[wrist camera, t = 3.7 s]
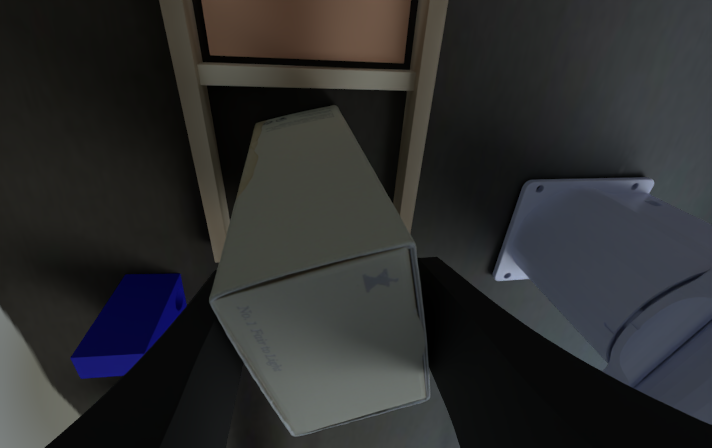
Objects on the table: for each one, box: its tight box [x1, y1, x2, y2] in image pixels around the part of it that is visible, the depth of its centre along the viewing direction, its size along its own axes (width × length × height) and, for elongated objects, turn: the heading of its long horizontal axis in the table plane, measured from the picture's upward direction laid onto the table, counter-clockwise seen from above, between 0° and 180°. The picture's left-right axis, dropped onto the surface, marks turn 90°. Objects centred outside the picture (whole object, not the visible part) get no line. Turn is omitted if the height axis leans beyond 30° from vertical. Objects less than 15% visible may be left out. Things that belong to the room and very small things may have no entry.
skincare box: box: [209, 105, 430, 436], centre depth 13 cm, size 6×4×12 cm
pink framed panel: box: [159, 0, 448, 263], centre depth 15 cm, size 11×19×2 cm, turn 177°
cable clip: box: [71, 274, 187, 379], centre depth 21 cm, size 12×4×6 cm, turn 173°
